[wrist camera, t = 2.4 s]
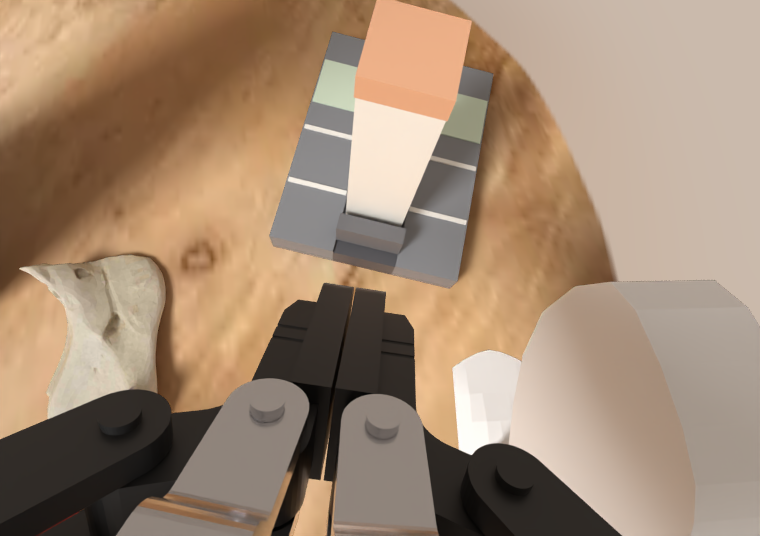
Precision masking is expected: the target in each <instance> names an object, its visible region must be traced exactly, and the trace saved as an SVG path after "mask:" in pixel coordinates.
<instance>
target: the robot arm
mask: <svg viewBox="0 0 760 536" xmlns="http://www.w3.org/2000/svg"><path fill="white" fill-rule="evenodd" d="M353 292H354V287H349V286H343V285H336V284H329V283H324V284H323V286H322V289H321V292H320V295H319V298H318V301H317V302H311V301H304V300H297V301H296V302H295V303H293V304H292V305H291V306H289V307H288V308H286V309H285V310H284V312H283V314H282V316H281V318H280V321H279V323H278V327H276V329H275V331H274V334H273V337H272V338H271V340H270V342H269V344H268V346H267V349H266V351H265V353H264V355H263V357H262V359H261V362H260V364H259V366H258V368H257V370H256V372H255V375H254V377H253V379H252V381H251V382H248V383H246V384H244V385H241V386H240V387H238V388H237V389H236V390H234V391H233V392H232V393H231V394H230V396H229V397H228V398H227V400H226V402H225V403H224V405H222V406H219V407H215V408H212V409H206V410H199V411H189V412H180V413H171V408H170V405H169V403H168V402H167V400H166V399H165V398H164V397H162V396H161V395H159V394H157V393H155V392H152V391H148V390H140V389H131V390H123V391H117V392H114V393H110V394H107V395H105V396H102V397H100V398H97V399H95V400H92V401H90V402H88V403H85V404H83V405H81V406H78V407H76V408H73V409H71V410H69V411H66V412H64V413H62V414H59V415H57V416H55V417H52V418H50V419H47V420H45V421H43V422H40V423H38V424H36V425H33V426H31V427H28V428H26V429H24V430H21V431H19V432H17V433H14V434H12V435H10V436H7V437H5V438H2V439H0V536H36V535H38V534H40V533H42V532H43V531H45V530H47V529H49V528H50V527H52V526H54V525H56V524H57V523H59V522H61V521H63V520H64V519H66V518H68V517H70V516H71V515H73V514H75V513H77V512H78V511H80V510H82V509H84V510H82V511H80V512H79V513H77V514H75V515H73V516H72V517H70V518H68V519H66V520H65V521H63V522H61V523H59V524H58V525H56V526H54V527H52V528H51V529H49V530H47V531H45V532H44V533H42V534H40V535H38V536H293V534H294V531H295V528H296V525H297V522H298V518H299V511H300V508H301V506H302V504H303V501H304V497H305V492H306V488H307V484H308V479H309V478H310V479H317V480H320V479H321V474H322V469H323V464H324V459H325V454H326V449H327V444H328V451H327V459H326V467H325V475H324V480H325V481H332V489H331V496H330V504H329V511H328V518H327V526H326V536H622V535H621V534H620V533H619V532H618V531H616V530H615V529H614V528H613V527H612V526H611V525H610V524H609V523H608V522H606V521H605V520H604V519H603V518H602V517H601V516H600V515H599V514H598V513H597V512H595V511H594V510H593V509H592V508H591V507H590V506H589V505H588V504H587V503H586V502H584V501H583V500H582V499H581V498H580V497H579V496H578V495H577V494H576V493H575V492H573V491H572V490H571V489H570V488H569V487H568V486H567V485H566V484H565V483H564V482H562V481H561V480H560V479H559V478H558V477H557V476H556V475H555V474H554V473H553V472H551V471H550V470H549V469H548V468H547V467H546V466H545V465H544V464H543V463H542V462H540V461H539V460H538V459H537V458H536V457H534V456H533V455H531V454H530V453H528V452H526V451H524V450H522V449H520V448H518V447H515V446H512V445H508V444H502V443H492V444H487V445H484V446H482V447H480V448H478V449H477V450H476V451H475V452H474V453H473V454H472V455H470V454H468V453H465V452H463V451H461V450H458V449H456V448H453V447H451V446H449V445H447V444H445V443H443V442H441V441H440V440H438V439H437V438H435V437H434V436H433V435H432V434H430V433H429V432H428V431H427V430H426V428H425V427H424V426H423V424H422V421H421V419H420V417H419V415H418V414H417V412H416V394H415V359H414V356H415V355H414V329H413V327H412V326H411V324H410V323H409V321H408V320H407V318H406V316H405V315H398V314H392V313H385V312H384V310H385V298H386V292H383V291H376V290H370V289H363V288H357V287H356V291H355V296H354V301H353V306H352V300H353ZM351 307H352V311H351ZM329 434H330V435H329ZM328 439H329V443H328Z"/></svg>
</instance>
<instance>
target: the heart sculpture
mask: <svg viewBox="0 0 760 536" xmlns="http://www.w3.org/2000/svg"><path fill="white" fill-rule="evenodd" d="M453 381H454V393H455V405H456V417H457V429H458V441H459V450H461V451H463V452H465V453H468V454H470V455H472V454H473V453H474V452H475V451H476V450H477V449H478V448H480V447H482V446H484V445H487V444H492V443H502V444H508V445H512V446H515V447H518V448H520V449H522V450H524V451H526V452H528V453H530V454H531V455H533V456H534V457H536V458H537V459H538V460H539V461H540V462H542V463H543V464H544V465H545V466H546V467H547V468H548V469H549V470H550V471H551V472H553V473H554V474H555V475H556V476H557V477H558V478H559V479H560V480H561V481H562V482H564V483H565V484H566V485H567V486H568V487H569V488H570V489H571V490H572V491H573V492H575V493H576V494H577V495H578V496H579V497H580V498H581V499H582V500H583V501H584V502H586V503H587V504H588V505H589V506H590V507H591V508H592V509H593V510H594V511H595V512H597V513H598V514H599V515H600V516H601V517H602V518H603V519H604V520H605V521H606V522H608V523H609V524H610V525H611V526H612V527H613V528H614V529H615V530H616V531H618V532H619V533H620V534H621V535H622V536H760V326H759V325H758V323H757V322H756V320H755V318H754V317H753V315H752V313H751V312H750V310H749V309H748V307H747V306H746V305H744V304H743V303H742V302H741V301H739V300H738V299H737V298H736V297H735V296H733V295H732V294H731V293H729V292H728V291H727V290H726V289H725V288H723V287H722V286H721V285H720V284H718V283H717V282H716V281H715V280H693V281H636V282H633V281H632V282H605V283H597V284H589V285H582V286H575V287H573V288H572V289H571V290H569V291H568V292H567V293H566V294H564V295H563V296H562V297H560V298H559V299H558V300H557V301H555V302H554V303H553V304H552V305H550V306H549V307H548V308H546V309H545V310H544V311H543V312H542V314H541V316H540V318H539V320H538V323H537V325H536V327H535V329H534V331H533V333H532V336H531V338H530V340H529V342H528V344H527V347H526V349H525V351H524V353H523V357H522V361H520V360H518V359H516V358H514V357H512V356H509V355H507V354H504V353H502V352H497V351H492V350H486V351H483V352H479V353H476V354H474V355H472V356H470V357H468V358H466V359H465V360H463V361H462V362H460V363H459V364H457V365H456V366H454V367H453Z"/></svg>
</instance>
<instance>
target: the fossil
mask: <svg viewBox="0 0 760 536" xmlns="http://www.w3.org/2000/svg"><path fill="white" fill-rule="evenodd" d="M19 269H20V270H22V271H25V272H27V273H29V274H31V275H32V276H34V277H35V278H36V279H38V280H39V281H41V282H42V283H45V284H46V285H47V286H48V290H49V291H51V292H52V294H53V295H54V296H55V297H56V298H57V299H58V300H60V301H61V303H62V304H63V305H64V308H65V311H66V316H67V323H68V332H67V338H66V343H65V348H64V351H63V354H62V356H61V360H60V362H59V364H58V367H57V369H56V371H55V373H54V375H53V377H52V379H51V382H50V384H49V386H48V389H47V392H46V394H47V395H48V396H49V404H48V416H47V417H48V419H50V418H52V417H55V416H57V415H59V414H62V413H64V412H66V411H69V410H71V409H73V408H76V407H78V406H81V405H83V404H85V403H88V402H90V401H92V400H95V399H97V398H100V397H102V396H105V395H107V394H110V393H114V392H117V391H123V390H131V389H140V390H148V391H152V392H155V393H157V394H158V390H157V374H156V357H155V354H156V341H157V333H158V328H159V324H160V319H161V316H162V312H163V309H164V306H165V300H166V287H165V281H164V277H163V274H162V272H161V271H160V269H159V267H158V266H157V265H156V263H155V262H154V261H153V260H152V259H151V258H150V257H142V256H134V255H131V254H130V255H120V256H117V257H106V258H103V259H100V260H97V261H93V262H84V263H76V264H72V263H67V264H56V265H51V264H45V263H43V264H39V265H33V266H24V267H21V268H19Z"/></svg>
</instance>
